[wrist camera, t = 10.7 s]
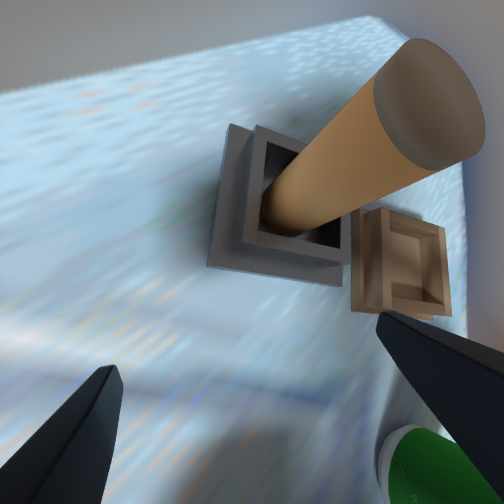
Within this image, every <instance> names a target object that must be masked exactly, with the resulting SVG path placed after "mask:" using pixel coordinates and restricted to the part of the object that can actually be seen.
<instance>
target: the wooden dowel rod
mask: <svg viewBox="0 0 504 504" xmlns="http://www.w3.org/2000/svg"><path fill="white" fill-rule="evenodd" d="M484 139H485V121H484V115H483V112H482V107H481V105H480V102H479V99H478V97H477V94H476V92H475V90H474V88H473V86H472V84H471V82H470V81H469V79H468V77H467V76H466V74H465V73H464V71H463V70H462V69H461V67H460V66H459V65H458V64H457V63H456V61H455V60H454V59H453V58H452V57H451V56H450V55H449V54H448V53H447V52H445V51H444V50H443V49H441V48H440V47H439V46H437V45H436V44H434V43H432V42H430V41H427V40H425V39H420V38H417V39H416V38H414V39H410V40H408V41H407V42H405V43H404V44H403V45H402V46H401V47H400V49H399V50H398V51H397V52H396V53H395V54H394V55H393V56H392V57H391V58H390V59H389V60H388V61H387V62H386V63H385V64H384V65H383V66H382V67H381V69H380V70H379V71H378V72H377V73H376V74H375V75H374V76H373V77H372V78H371V79H370V80H369V81H368V82H367V83H366V84H365V85H364V86H363V87H362V89H361V90H360V91H359V92H358V93H357V94H356V95H355V96H354V97H353V98H352V99H351V100H350V101H349V102H348V103H347V104H346V105H345V106H344V107H343V109H342V110H341V111H340V112H339V113H338V114H337V115H336V116H335V117H334V118H333V119H332V120H331V121H330V122H329V123H328V124H327V125H326V126H325V127H324V129H323V130H322V131H321V132H320V133H319V134H318V135H317V136H316V137H315V138H314V139H313V140H312V141H311V142H310V143H309V144H308V145H307V146H306V147H305V149H304V150H303V151H302V152H301V153H300V154H299V155H298V156H297V157H296V158H295V159H294V160H293V161H292V162H291V163H290V164H289V165H288V166H287V167H286V169H285V170H284V171H283V172H282V173H281V174H280V175H279V176H278V177H277V178H276V179H275V180H274V181H273V182H272V183H271V184H270V185H269V186H268V187H267V189H266V190H265V192H264V194H263V196H262V202H261V206H262V212H263V215H264V218H265V220H266V221H267V223H268V224H269V225H270V227H271V228H272V229H274V230H275V231H276V232H278V233H279V234H282V235H284V236H289V237H294V236H299V235H301V234H303V233H305V232H308V231H310V230H312V229H314V228H316V227H319V226H321V225H323V224H325V223H327V222H329V221H332V220H334V219H336V218H338V217H340V216H343V215H345V214H347V213H349V212H351V211H354V210H356V209H358V208H360V207H362V206H365V205H367V204H369V203H371V202H373V201H375V200H378V199H380V198H382V197H384V196H386V195H389V194H391V193H393V192H395V191H397V190H400V189H402V188H404V187H406V186H408V185H410V184H413V183H415V182H417V181H419V180H421V179H424V178H426V177H428V176H430V175H432V174H435V173H437V172H439V171H441V170H443V169H446V168H448V167H450V166H452V165H454V164H456V163H459V162H461V161H463V160H465V159H467V158H469V157H472V156H474V155H476V154H477V153H478V152H479V151H480V149H481V148H482V146H483V143H484Z"/></svg>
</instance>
